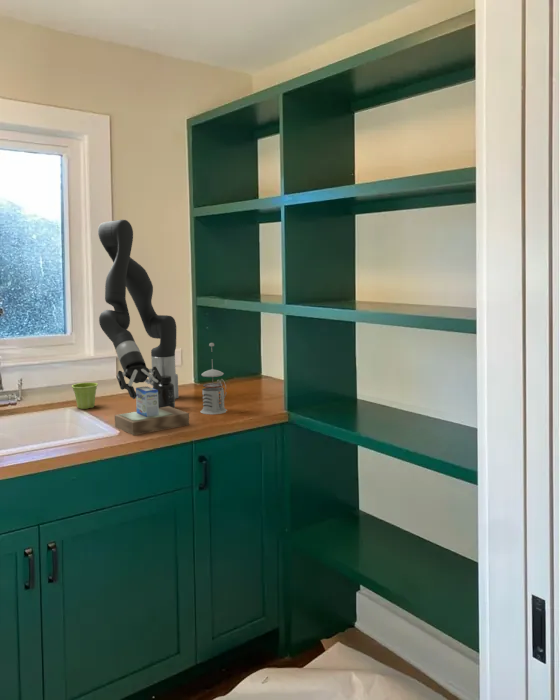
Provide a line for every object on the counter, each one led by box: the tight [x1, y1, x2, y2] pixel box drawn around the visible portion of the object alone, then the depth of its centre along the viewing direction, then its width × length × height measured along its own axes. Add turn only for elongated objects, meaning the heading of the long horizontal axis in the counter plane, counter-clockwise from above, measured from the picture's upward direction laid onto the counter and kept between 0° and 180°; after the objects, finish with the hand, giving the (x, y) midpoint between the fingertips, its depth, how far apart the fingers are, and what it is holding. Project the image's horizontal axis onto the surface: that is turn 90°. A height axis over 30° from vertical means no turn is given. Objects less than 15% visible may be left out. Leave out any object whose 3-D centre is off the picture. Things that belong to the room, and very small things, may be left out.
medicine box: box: [135, 386, 159, 417], centre depth 215 cm, size 8×4×9 cm, turn 37°
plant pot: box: [71, 382, 99, 410], centre depth 248 cm, size 9×9×9 cm
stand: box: [114, 406, 190, 436], centre depth 218 cm, size 20×14×4 cm
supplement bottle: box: [158, 376, 176, 409], centre depth 243 cm, size 7×7×12 cm
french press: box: [200, 342, 228, 415], centre depth 236 cm, size 10×12×25 cm
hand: (147, 395), depth 214 cm, fingers open, 8 cm apart
